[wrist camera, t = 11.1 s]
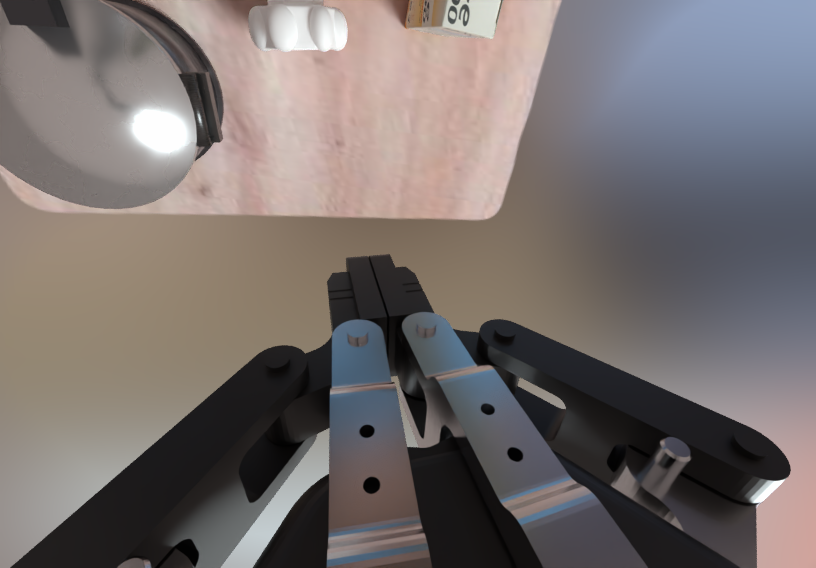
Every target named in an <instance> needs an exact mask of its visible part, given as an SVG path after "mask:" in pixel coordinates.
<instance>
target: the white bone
mask: <svg viewBox="0 0 816 568" xmlns="http://www.w3.org/2000/svg"><path fill="white" fill-rule="evenodd" d="M267 2H268V5H266V6H254V7H252V8H251V10H250V12H249V16H248V26H249V31H250V35H251V38H252V40H253V42H254V44H255V45H256V46H257V47H258V48H259V49H260V50H262V51H269V50H280V51H283V52H289V51H292V50H320V51H322V52H326V51H328V50H330V49H333V50H335V51H339V50H341V49H343V48H344V46H345V44H346V42H347V31H348V29H347V23H346V19H345V17H344V15H343V13H342V12H341V11H340V10H339V9H338V8H335V7H326V6H324V5H323V0H267Z"/></svg>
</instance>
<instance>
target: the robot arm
mask: <svg viewBox="0 0 816 568" xmlns="http://www.w3.org/2000/svg"><path fill="white" fill-rule="evenodd" d="M346 267H347V272H340V273H332V275H331V277H330V278H329V280H328V281H327V285H328V296H329V307H330V319H331V326H332V336H331V338H330V339H329V341H328V342H327V343H326V344H325V345H323V346H322V347H320V348H318V349H316V350H314V351H311V352H309V353H306V354H305V353H304V352H303V351H302V350H301V349H299V348H296V347H293V346H287V345H286V346H285V345H284V346H283V345H282V346H275V347H272V348H268V349H266V350H264V351H262V352H261V353H259V354H258V355H256V356H255V357H254V358H253V359H252V360H251V361H249V362H248V364H246V365H245V366H244V367H243V368H241V369H240V370H239V371H238V372H237V373H236V374H234V375H233V376H232V377H231V378H230V379H229V380H228V381H226V382H225V383H224V384H223V385H222V386H221V387H220V388H218V389H217V390H216V391H215V392H214V393H212V394H211V395H210V396H209V397H208V398H207V399H205V400H204V401H203V402H202V403H201V404H200V405H199V406H197V407H196V408H195V409H194V410H193V411H192V412H190V413H189V414H188V415H187V416H186V417H185V418H183V419H182V420H181V421H180V422H179V423H178V424H176V425H175V426H174V427H173V428H172V429H171V430H169V431H168V432H167V433H166V434H165V435H164V436H162V438H160V439H159V440H158V441H157V442H156V443H154V444H153V445H152V446H151V447H150V448H149V449H147V450H146V451H145V452H144V453H143V454H142V455H140V456H139V457H138V458H137V459H136V460H135V461H133V462H132V463H131V464H130V465H129V466H128V467H127V468H125V469H124V470H123V471H122V472H121V473H120V474H118V475H117V476H116V477H115V478H114V479H113V480H111V481H110V482H109V483H108V484H107V485H106V486H105V487H103V488H102V489H101V490H100V491H99V492H98V493H96V494H95V495H94V496H93V497H92V498H91V499H89V500H88V501H87V502H86V503H85V504H84V505H82V506H81V507H80V508H79V509H78V510H77V511H76V512H75V513H73V514H72V515H71V516H70V517H69V518H68V519H66V520H65V521H64V522H63V523H62V524H61V525H59V526H58V527H57V528H56V529H55V530H53V531H52V532H51V533H50V534H49V535H48V536H47V537H45V538H44V539H43V540H42V541H41V542H40V543H38V544H37V545H36V546H35V547H34V548H33V549H31V550H30V551H29V552H28V553H27V554H26V555H24V556H23V557H22V558H21V559H20V560H19V561H18V562H16V563H15V564H14V565H13V566H12V567H11V568H220V567H221V566H222V564H223V563H224V562H225V561H226V559H227V558H228V556H229V555H230V554H231V553H232V551H233V550H234V549H235V547H236V546H237V545H238V543H239V542H240V541H241V539H242V538H243V537H244V535H245V534H246V533H247V531H248V530H249V529H250V527H251V526H252V525H253V523H254V522H255V521H256V519H257V518H258V517H259V515H260V514H261V513H262V511H263V510H264V509H265V507H266V506H267V505H268V503H269V502H270V501H271V499H272V498H273V497H274V495H275V494H276V492H277V491H278V490H279V489H280V487H281V486H282V485H283V483H284V482H285V480H286V479H287V478H288V476H289V475H290V474H291V473H292V471H293V470H294V469H295V467H296V466H297V465H298V463H299V462H300V461H301V459H302V458H303V457H304V455H305V454H306V453H307V451H308V450H309V449H310V447H311V446H312V445H313V443H314V441H315V439H316V437H317V434H318V433H319V432H322V431H324V430H326V429H328V428H330V439H329V474H328V475H326V476H325V477H323V478H321V479H320V480H319V481H317V482H316V483H315V484H314V485H312V486H311V487H310V488H309V489H308V490H307V491H306V492H305V493H304V494H303V495H302V496H301V497H300V498H299V499H298V501H297V502H296V503H295V504H294V506H293V507H292V508H291V510H290V511H289V513H288V514H287V516H286V517H285V519H284V520H283V522H282V524H281V525H280V527H279V528H278V530H277V531H276V533H275V534H274V536H273V537H272V539H271V540H270V542H269V544H268V545H267V547H266V548H265V550H264V551H263V553H262V554H261V556H260V557H259V559H258V560H257V562H256V563H255V565H254V567H253V568H757V541H756V540H757V539H756V538H757V536H756V507H757V506H758V505H760V503H761V502H763V500H764V499H766V498H767V497H768V496H769V495H770V494H771V493H772V492H773V491H774V490H775V489H776V488H777V487H778V486H779V485H780V484H781V483H782V482H783V481H784V480H785V479H786V478H787V477H788V476H789V475H790V471H791V469H790V464H789V462H788V460H787V458H786V456H785V455H784V453H782V451H781V450H780V449H779V448H778V447H777V446H776V445H775V444H774V443H773V442H772V441H771V440H769V439H768V438H767V437H765V436H764V435H762V434H761V433H759V432H758V431H756V430H754V429H752V428H750V427H748V426H746V425H743V424H741V423H739V422H737V421H735V420H732V419H730V418H728V417H726V416H723V415H721V414H719V413H716V412H714V411H712V410H710V409H708V408H705V407H703V406H701V405H699V404H696V403H694V402H692V401H689V400H687V399H685V398H683V397H680V396H678V395H676V394H674V393H671V392H669V391H667V390H665V389H663V388H660V387H658V386H656V385H654V384H651V383H649V382H647V381H645V380H642V379H640V378H638V377H635V376H633V375H631V374H629V373H626V372H624V371H622V370H620V369H617V368H615V367H613V366H611V365H609V364H606V363H604V362H602V361H599V360H597V359H595V358H593V357H590V356H588V355H586V354H584V353H581V352H579V351H577V350H575V349H572V348H570V347H568V346H566V345H563V344H561V343H559V342H556V341H554V340H552V339H550V338H548V337H545V336H543V335H541V334H539V333H536V332H534V331H532V330H530V329H527V328H525V327H523V326H521V325H518V324H516V323H514V322H511V321H507V320H501V319H497V320H490V321H487V322H485V323H484V324H483V325H482V326H481V328H480V331H479V333H477V332H468V331H460V330H455V329H452V327H451V326H450V324H449V323H448V321H447V320H446V319H445V318H443V317H442V316H440V315H437V314H435V313H434V311H433V309H432V307H431V305H430V303H429V301H428V299H427V297H426V295H425V293H424V291H423V289H422V287H421V285H420V284H419V281H418V279H417V277H416V275H415V273H413V272H412V271H410V270H409V269H408V268H406V267H396V268H395V265H394V263H393V261H392V259H391V256H390V254H386V255H373V256H369V257H368V256H362V257H349V258H346ZM391 376H398V379H399V382H400V384H399V396H400V400H401V402H402V405H403V407H404V410H405V412H406V415H407V418H408V420H409V423H410V426H411V428H412V430H413V433H414V436H415V439H416V441H417V444H418V446H419V448H417V447H416V448H415V447H407V444H406V439H405V433H404V428H403V422H402V417H401V412H400V406H399V400H398V395H397V389H396V386H395V383H394V382H391ZM520 377H521V378H523V379H525V380H526V381H528V382H530V383H532V384H534V385H536V386H538V387H540V388H542V389H544V390H546V391H548V392H550V393H552V394H553V395H555V396H557V397H559V398H560V399H561V400H562V401H563V402H564V404H565V406H566V409H561V408H558V407H556V406H554V405H552V404H550V403H548V402H547V401H545V400H543V399H541V398H539V397H537V396H535V395H533V394H531V393H530V392H528V391H526V390H524V389H522V388H520V387H518V386H517V385H518V381H519V378H520Z"/></svg>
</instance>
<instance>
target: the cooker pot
mask: <svg viewBox="0 0 816 568" xmlns="http://www.w3.org/2000/svg"><path fill="white" fill-rule="evenodd" d="M102 1H104V2H106V3H108V4H109V5H111V6H113V7H115V8H116V9H118V10H120V11H121V12H123V13H124V14H126V15H127V16H129V17H130V18H132V19H133V20H134V21H135V22H137V23H138V24H139V25H140V26H142V27H143V28H144V29H145V30H146V31H147V32H148V33H149V34H151V35H152V36H153V37H154V38H155V39H156V40H157V41H158V42H159V43H160V45H161V46H162V47H163V48H164V49H165V50H166V51H167V53H168V54H169V55H170V56H171V58H172V59H173V61H174V62H175V63H176V65H177V66H178V68H179V69H180V71H181V73H193V74H196V78H197V82H198V86H199V91H200V95H201V99H202V104H203V108H204V112H205V117H206V121H207V126H208V130H209V134H210V139H211V143H212V144H213V143H214V142H221V141H222V139H223V136H222V131H221V125H222V121H223V113H224V109H223V96H222V91H221V87H220V83H219V80H218V78H217V75H216V73H215V70H214V69H213V67H212V65H211V63H210V61H209V59H208V58H207V56H206V55H205V53H204V52H203V50H202V49H201V48H200V46H199V45H198V44H197V43H196V42H195V40H194V39H193V38H192V37H191V36H190V35H189V34H188V33H187V32H186V31H185V30H184V29H183V28H181V27H180V26H179V25H178V24H176V23H175V22H174V21H173V20H171V19H170V18H168V17H167V16H165V15H164V14H162V13H160V12H158V11H156V10H155V9H153V8H151V7H149V6H146V5H144V4H141V3H138V2H135V1H132V0H102ZM211 146H212V145H211ZM211 146H206V147H199V148H198V151H197V155H196V158H195V160H197V159H198V158H200V157H201V156H202V155H204V154H205V153H206V152H207V151H208V149H209V148H210V147H211Z"/></svg>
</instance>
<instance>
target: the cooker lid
mask: <svg viewBox="0 0 816 568" xmlns="http://www.w3.org/2000/svg"><path fill="white" fill-rule="evenodd" d="M211 145H212V143H211V139H210V134H209V130H208V126H207V121H206V117H205V112H204V108H203V104H202V99H201V95H200V91H199V86H198V82H197V78H196V74H193V73H181V71H180V69H179V68H178V66H177V65H176V63H175V62H174V61H173V59H172V58H171V56H170V55H169V54H168V53H167V51H166V50H165V49H164V48H163V47H162V46H161V45H160V43H159V42H158V41H157V40H156V39H155V38H154V37H153V36H152V35H151V34H149V33H148V32H147V31H146V30H145V29H144V28H143V27H142V26H140V25H139V24H138V23H137V22H135V21H134V20H133V19H132V18H130V17H129V16H127V15H126V14H124V13H123V12H121V11H120V10H118V9H116V8H115V7H113V6H111V5H109V4H108V3H106V2H104V1H102V0H0V164H1V165H2V166H3V167H4V168H6V169H7V170H8V171H10V172H11V173H13V174H14V175H15V176H17V177H18V178H20V179H22V180H23V181H25V182H26V183H28V184H30V185H31V186H33V187H35V188H37V189H39V190H41V191H43V192H45V193H47V194H50V195H52V196H55V197H57V198H60V199H62V200H65V201H69V202H72V203H75V204H79V205H84V206H89V207H95V208H104V209H123V208H133V207H137V206H142V205H145V204H148V203H151V202H154V201H156V200H158V199H160V198H162V197H163V196H165V195H167V194H168V193H169V192H171V191H172V190H173V189H174V188H175V187H176V186H177V185H178V184H179V183H180V182H181V181H182V180H183V179H184V178H185V176H186V175H187V173H188V172H189V170H190V169H191V167H192V165H193V163H194V161H195V158H196V155H197V151H198V148H199V147H206V146H211Z"/></svg>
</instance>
